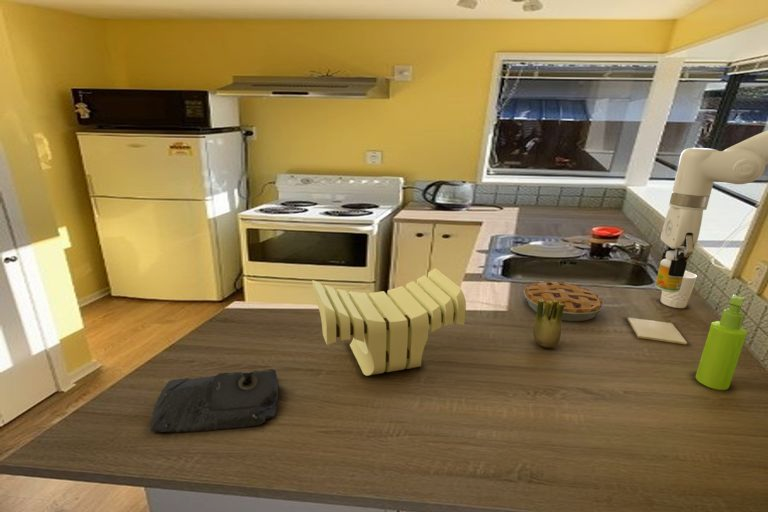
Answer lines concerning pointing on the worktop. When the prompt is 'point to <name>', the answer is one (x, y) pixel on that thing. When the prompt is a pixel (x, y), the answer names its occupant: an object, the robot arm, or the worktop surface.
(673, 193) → the robot arm
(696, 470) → the worktop surface
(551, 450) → the worktop surface
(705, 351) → the soap dispenser
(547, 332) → the fennel bulb
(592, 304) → the pie
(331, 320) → the slatted curved stool
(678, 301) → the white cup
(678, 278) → the supplement bottle
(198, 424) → the dark slate chunk
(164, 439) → the worktop surface
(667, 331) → the coaster
